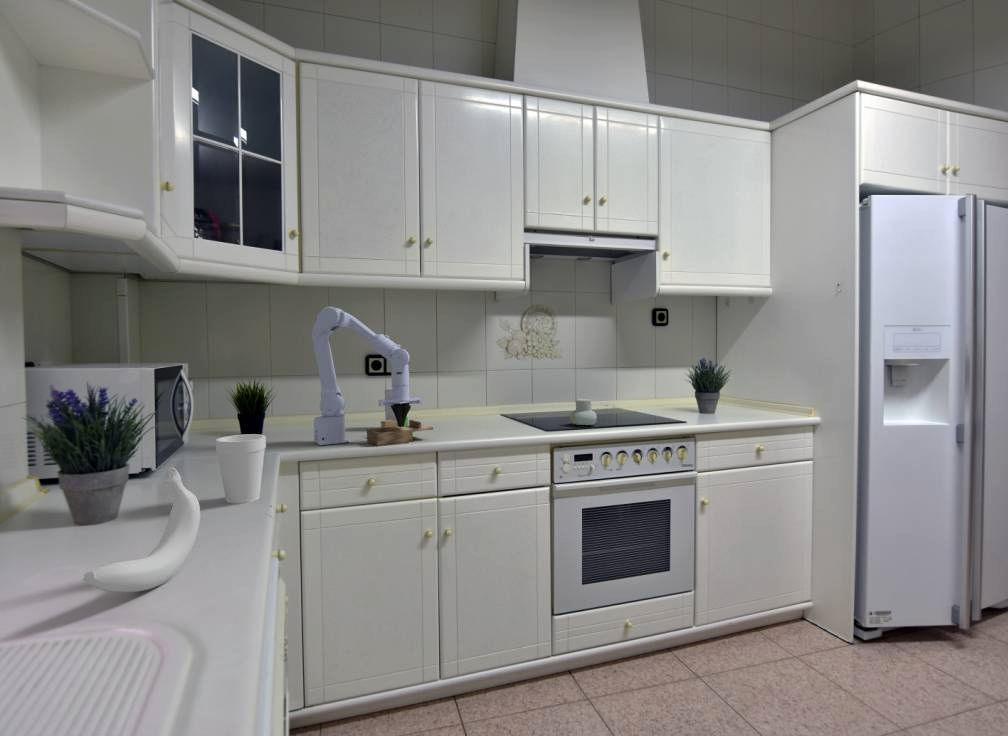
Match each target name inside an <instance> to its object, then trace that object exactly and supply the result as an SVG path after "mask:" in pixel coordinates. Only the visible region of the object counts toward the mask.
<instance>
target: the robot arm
mask: <svg viewBox="0 0 1008 736" xmlns="http://www.w3.org/2000/svg"><path fill="white" fill-rule="evenodd" d="M340 327H343V328H347V329H350V330H352V331H354V332H355V333H357V334H358V335H359V336H361V337H362V338H364V339H365V340H367V341H368V342H370V346H371V349H372V350H374V351H375V352H377V354H379V355H381V356H382V357H384V359H386V360H389V362H390V363H391V388H392V399H385V398H384V399H378V407H385V406H390V405H391V408H392V410H393V412H394V414H395V417H396V420H397V424H398V427H404V425H405V420H406V417H407V414H408V415H409V412H410V410H411V407H412V406H411V405H412V404H415V405H417V404H419V405H420V404H423V397H418V396H417V397H410V371H409V369H410V366H409V364H408V363H409V362H410V359H411V358H410V354H409V352H408V351H407V350H406V349H405V348H401V347H402V345H401V344H400V343H399V344H397V343H395V342H394V341H392V340H391V339H390V336H389V335H387V334H385V335H384V334H383V333H380V334H377V333H375V332H374V331H373V330H371V329H370V328H369V327H368V326H366V325H365V324H364V323H363V322H361V321H360V320H359V319H357V317H355V316H354V315H352V314H350V313H348V312H346V311H344V310H343V309H342V308H340V307H335V306H330V305H329V306H325V307H324V308H322V310H321V311H319V313H317V315H316V321H315V323H314V325H313V328H312V331H311V338H312V344H313V345H312V346H313V349H314V354H315V359H316V364H317V370H318V376H319V381H320V387H321V390H320V402H319V411H321V415H320V416H315V417H314V419H313V435H314V436H313V443H315V444H317V445H319V446H326V445H327V446H328V445H335V444H336V445H337V444H345V443H350V440H348V439H347V438H346V428H345V427H346V426H345V425H346V423H345V422H346V420H345V416H346V415H345V412H344V410H345V408H346V399H345V397H344V396H343V395H342V392H341V388H340V387H339V385H338V380H337V376H336V370H335V365H334V359H333V354H332V349H331V343H330V337H331V336H332V334H333V333H334V332H335V330H337V329H339V328H340ZM396 402H408V403H396ZM393 403H394V404H393Z"/></svg>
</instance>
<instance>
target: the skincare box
mask: <svg viewBox="0 0 1008 736" xmlns="http://www.w3.org/2000/svg"><path fill="white" fill-rule="evenodd" d="M385 399H392V387H385V388H384V400H385ZM396 403H408V402H396ZM393 404H394V403H393ZM384 410H385V411H384V415H385V416H384V417H385V418H384V420H394V421H396V427H397V426H398V424H397V420H396V417H395V414H394V412H393V410H392V408H391V405H390V406H384ZM404 426H409V413H408V414H407V417H406V420H405V425H404Z"/></svg>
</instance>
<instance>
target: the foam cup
mask: <svg viewBox="0 0 1008 736" xmlns="http://www.w3.org/2000/svg"><path fill="white" fill-rule="evenodd" d="M266 441H267V437H266V435H265V434H259V433H258V434H256V433H255V434H254V433H252V434H251V433H250V434H247V433H246V434H245V433H244V434H235V435H228V436H222V437H218V438H216V439H215V452H216V453H217V457H218V458H217V459H218V463H219V469H220V474H221V475H220V476H221V480H222V486H223V492H224V496H225V499H226V500H225V502H227V503H228V504H247V503H251V502H256V501H257V500H259V498H260V495H261V487H262V486H261V485H262V479H263V478H262V477H263V469H264V468H263V467H264V459H265V450H266V448H267V442H266Z"/></svg>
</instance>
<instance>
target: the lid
mask: <svg viewBox="0 0 1008 736" xmlns="http://www.w3.org/2000/svg"><path fill="white" fill-rule="evenodd" d="M408 424H409V426H404V427H393V430H395V431H402V430H413V433H414V432H425V431H432V430H434V427H433V426H429V425H427V424H422V422H420V421H417V420H415V419H414V420H413V419H408Z"/></svg>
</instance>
